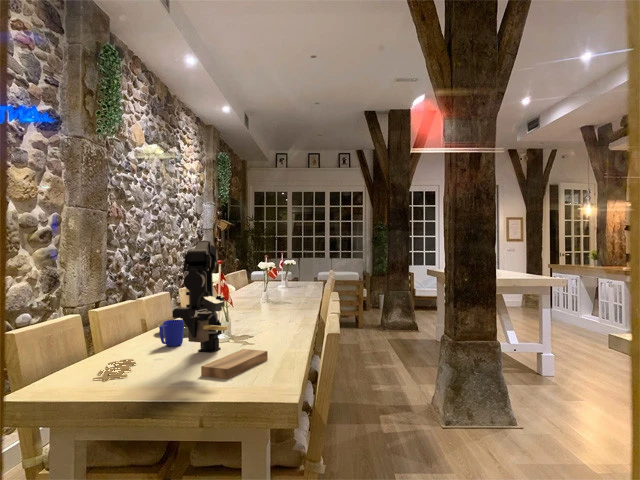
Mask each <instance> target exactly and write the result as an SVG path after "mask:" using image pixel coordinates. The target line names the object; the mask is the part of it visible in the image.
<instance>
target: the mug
mask: <svg viewBox="0 0 640 480" xmlns="http://www.w3.org/2000/svg"><path fill="white" fill-rule="evenodd" d="M162 323H163V324H164V325H163V326H160V327H158V328H159V329H158V330H159V337H160V341H161V343H162V344H163V345H166V346H168V347H178V346H181V345H182V344H183V343H184V336H183V329H184V321H183V319H168V320H165V321H163V322H162ZM163 327H164V335H163Z"/></svg>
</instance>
